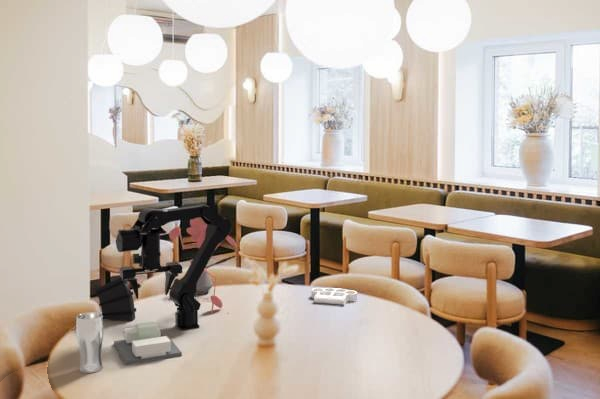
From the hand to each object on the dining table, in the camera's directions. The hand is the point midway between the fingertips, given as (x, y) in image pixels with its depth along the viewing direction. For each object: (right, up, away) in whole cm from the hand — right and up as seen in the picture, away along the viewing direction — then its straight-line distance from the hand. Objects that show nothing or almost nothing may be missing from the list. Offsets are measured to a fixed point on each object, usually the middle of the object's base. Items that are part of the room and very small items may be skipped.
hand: (151, 296), depth 199 cm
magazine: (-16, -10, +16) cm, 25 cm away
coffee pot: (+11, -6, +51) cm, 53 cm away
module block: (+2, -12, -13) cm, 18 cm away
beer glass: (-10, -16, -28) cm, 33 cm away
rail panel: (+2, -14, -13) cm, 19 cm away
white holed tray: (+60, -8, +42) cm, 73 cm away
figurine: (+13, -9, +30) cm, 34 cm away
